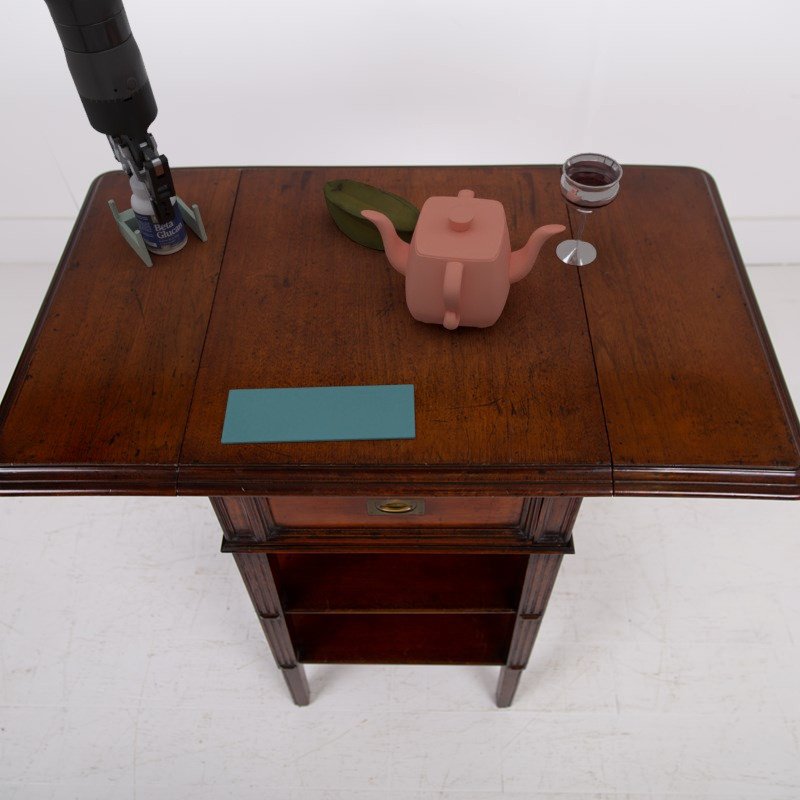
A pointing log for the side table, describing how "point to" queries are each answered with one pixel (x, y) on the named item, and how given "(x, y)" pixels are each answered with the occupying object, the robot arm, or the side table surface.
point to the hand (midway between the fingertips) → (156, 207)
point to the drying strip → (319, 414)
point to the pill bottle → (157, 223)
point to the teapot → (459, 259)
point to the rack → (133, 233)
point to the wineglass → (587, 198)
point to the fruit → (356, 197)
